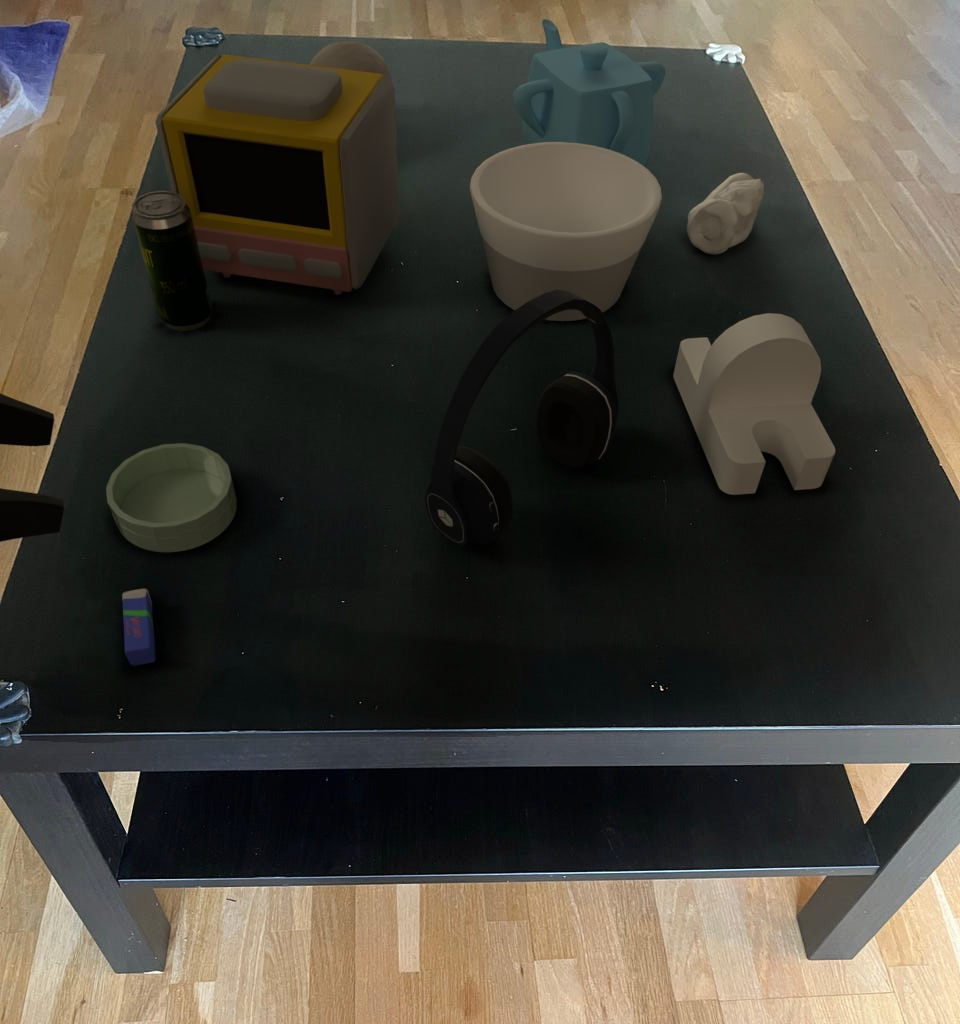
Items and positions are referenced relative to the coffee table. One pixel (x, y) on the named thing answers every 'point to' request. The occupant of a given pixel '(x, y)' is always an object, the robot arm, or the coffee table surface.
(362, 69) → the seashell
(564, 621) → the coffee table surface
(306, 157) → the alarm clock
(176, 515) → the celadon bowl
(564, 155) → the bowl
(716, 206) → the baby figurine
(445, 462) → the earphone
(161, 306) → the beer can
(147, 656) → the eraser
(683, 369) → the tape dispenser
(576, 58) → the teapot
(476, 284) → the coffee table surface
